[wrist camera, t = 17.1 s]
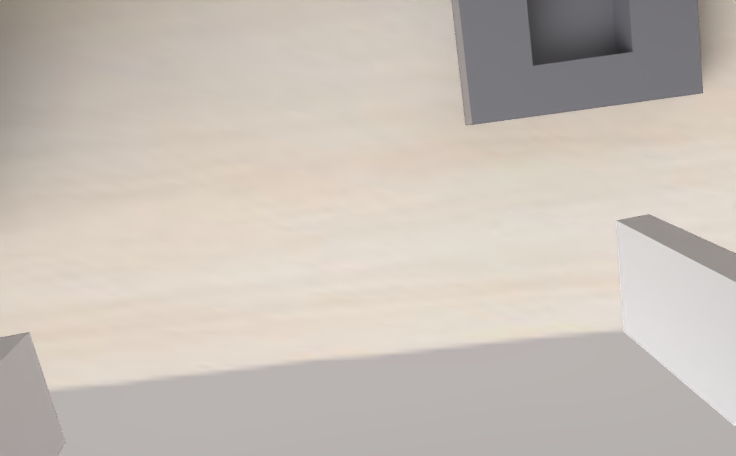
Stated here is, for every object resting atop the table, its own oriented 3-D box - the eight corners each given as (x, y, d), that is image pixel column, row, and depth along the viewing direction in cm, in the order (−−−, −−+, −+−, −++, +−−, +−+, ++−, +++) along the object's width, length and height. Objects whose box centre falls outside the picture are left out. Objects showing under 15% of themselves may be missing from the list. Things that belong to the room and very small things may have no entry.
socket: (465, 125, 43) (472, 124, 40) (444, -66, 41) (449, -82, 38) (680, 95, 42) (702, 93, 39) (667, -99, 41) (690, -117, 38)
